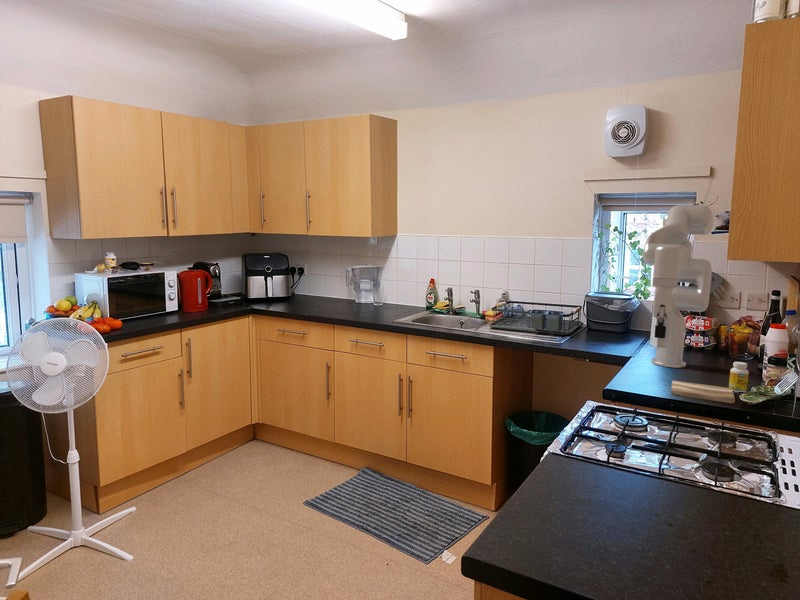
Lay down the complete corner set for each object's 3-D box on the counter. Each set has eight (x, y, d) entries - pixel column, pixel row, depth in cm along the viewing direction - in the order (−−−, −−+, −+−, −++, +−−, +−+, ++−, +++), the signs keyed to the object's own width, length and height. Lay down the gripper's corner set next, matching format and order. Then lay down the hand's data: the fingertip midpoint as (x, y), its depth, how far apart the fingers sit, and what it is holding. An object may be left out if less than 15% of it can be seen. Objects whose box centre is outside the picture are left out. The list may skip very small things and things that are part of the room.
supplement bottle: (739, 388, 201) (742, 361, 200) (750, 393, 196) (753, 365, 194) (724, 388, 200) (727, 361, 199) (735, 393, 195) (738, 364, 194)
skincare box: (669, 348, 194) (672, 313, 193) (656, 348, 194) (659, 312, 193) (661, 344, 200) (665, 310, 199) (649, 344, 200) (652, 309, 199)
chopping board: (671, 384, 203) (672, 380, 203) (731, 392, 195) (731, 388, 195) (670, 394, 190) (671, 390, 190) (734, 403, 183) (734, 399, 182)
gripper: (654, 279, 204) (649, 330, 206) (651, 284, 188) (646, 339, 191) (677, 281, 200) (673, 332, 203) (676, 286, 185) (671, 341, 187)
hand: (660, 335), depth 197 cm, fingers closed on skincare box, 7 cm apart
